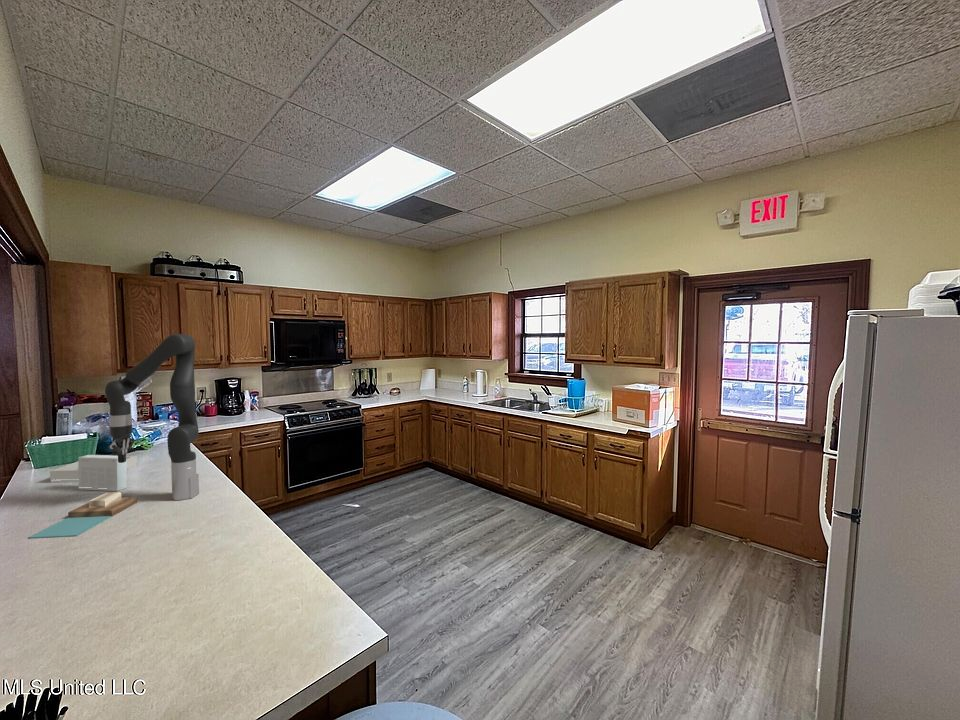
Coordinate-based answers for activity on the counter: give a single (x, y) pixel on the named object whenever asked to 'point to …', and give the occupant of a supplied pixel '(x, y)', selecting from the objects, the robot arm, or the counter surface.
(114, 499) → the beige block
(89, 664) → the counter surface
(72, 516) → the brown flat block
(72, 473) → the white stepped block
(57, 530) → the mat
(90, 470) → the skincare box
